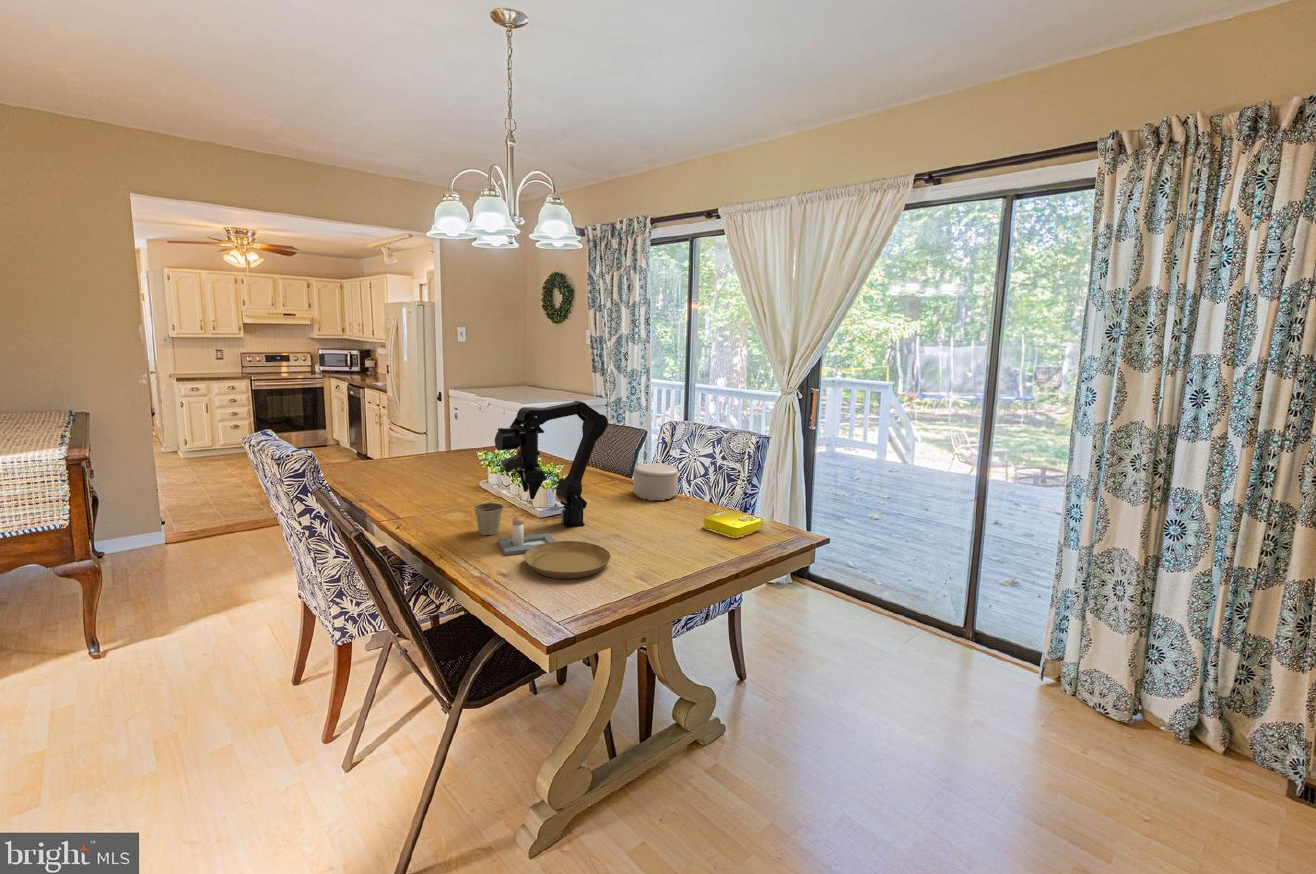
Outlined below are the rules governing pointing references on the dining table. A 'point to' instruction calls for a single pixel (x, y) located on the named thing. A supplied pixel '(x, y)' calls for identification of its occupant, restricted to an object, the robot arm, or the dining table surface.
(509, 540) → the keyhole plate
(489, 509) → the flower pot
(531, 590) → the dining table surface
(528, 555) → the plant saucer
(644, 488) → the container
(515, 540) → the cream peg
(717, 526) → the element tile
